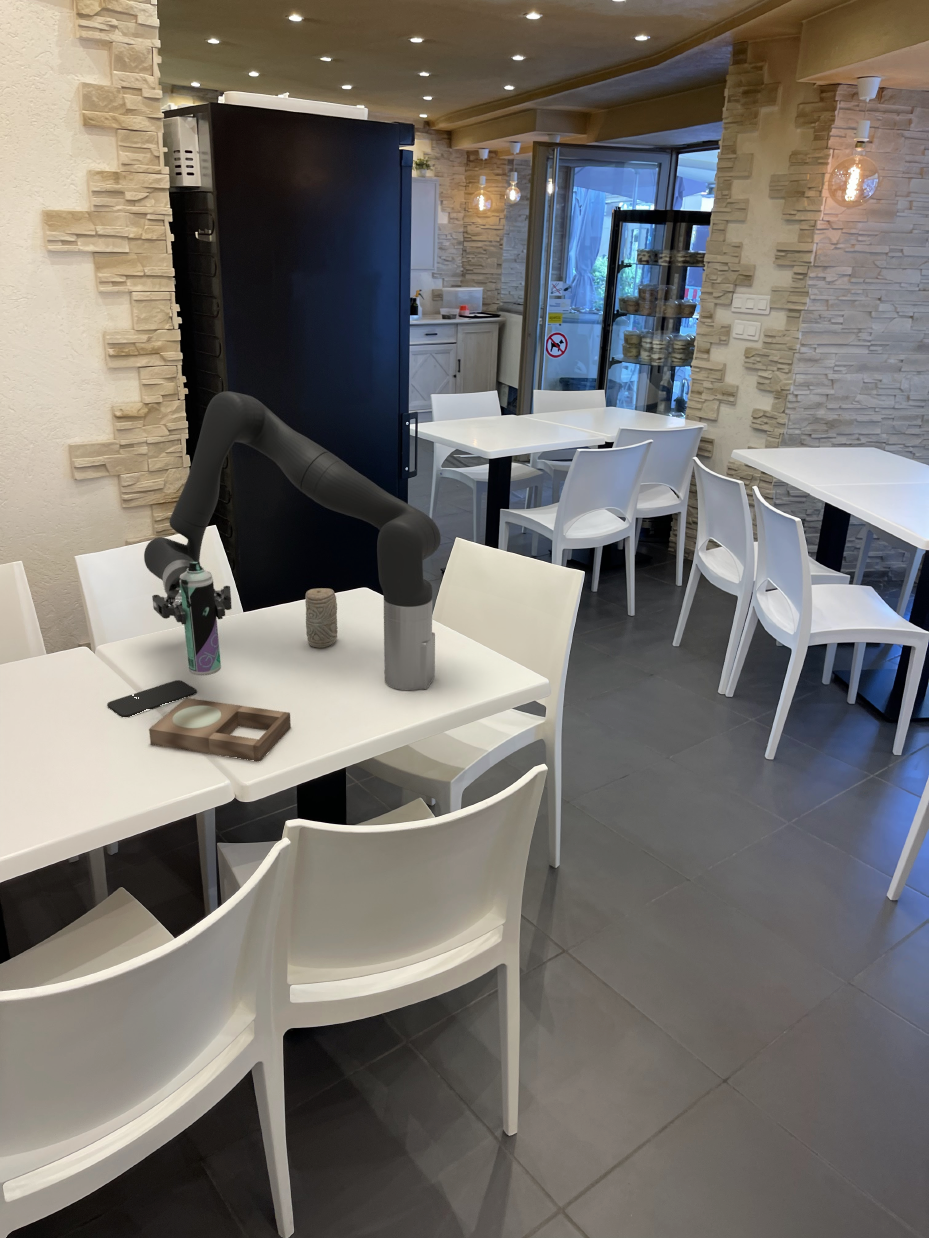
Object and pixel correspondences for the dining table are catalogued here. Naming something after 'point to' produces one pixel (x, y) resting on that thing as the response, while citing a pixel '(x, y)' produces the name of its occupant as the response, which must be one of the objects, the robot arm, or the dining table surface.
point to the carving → (321, 617)
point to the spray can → (200, 620)
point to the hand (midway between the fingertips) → (202, 616)
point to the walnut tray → (219, 729)
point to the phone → (151, 698)
